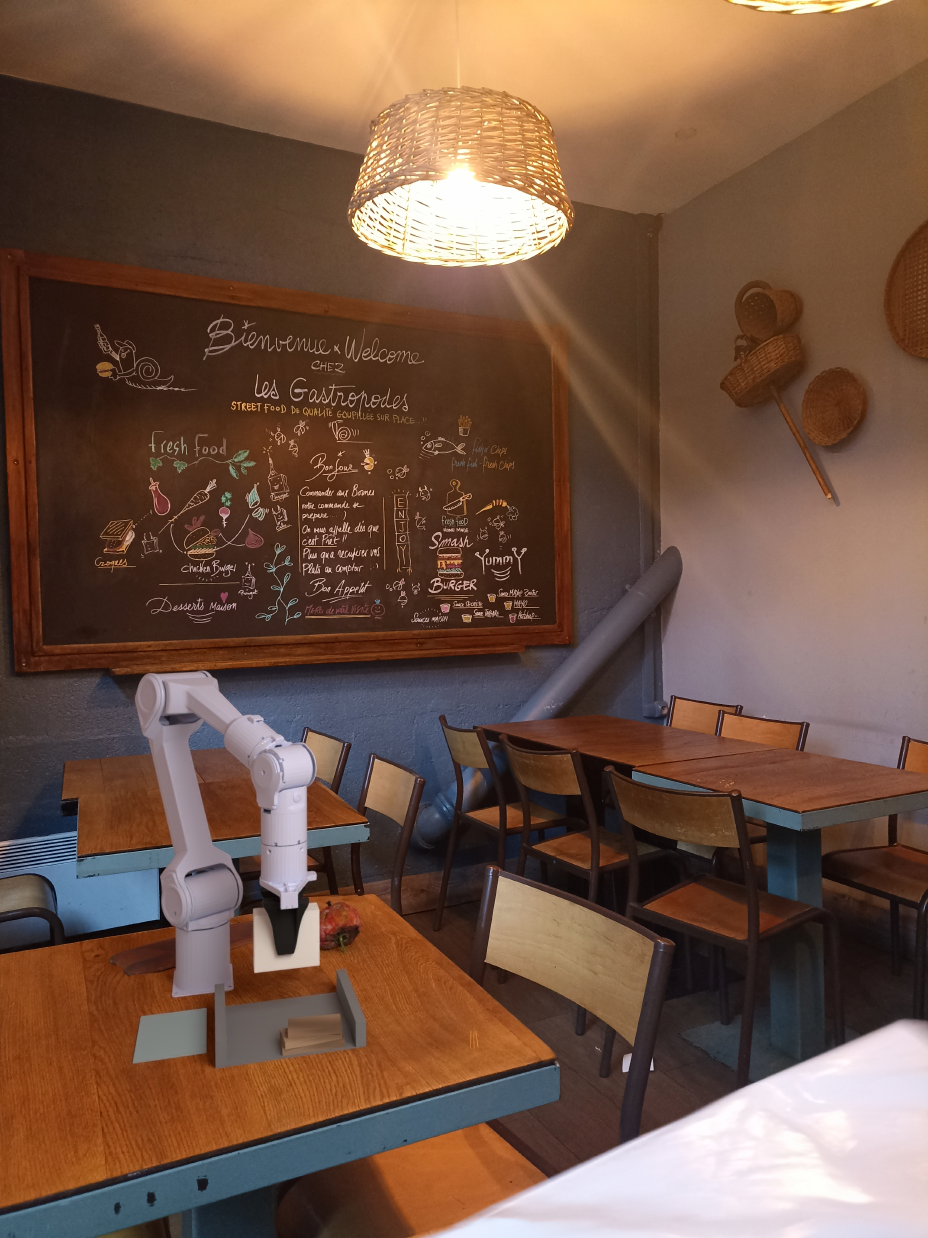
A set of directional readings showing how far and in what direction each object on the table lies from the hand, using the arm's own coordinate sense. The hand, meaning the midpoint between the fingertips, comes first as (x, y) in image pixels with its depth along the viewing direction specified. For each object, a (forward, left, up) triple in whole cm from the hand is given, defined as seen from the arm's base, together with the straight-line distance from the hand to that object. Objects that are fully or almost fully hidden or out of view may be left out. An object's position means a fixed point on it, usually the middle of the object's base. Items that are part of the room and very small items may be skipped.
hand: (284, 948), depth 108 cm
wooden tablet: (-30, -10, -10) cm, 33 cm away
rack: (+3, 0, -9) cm, 9 cm away
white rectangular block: (0, 0, -2) cm, 2 cm away
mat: (+1, -13, -9) cm, 16 cm away
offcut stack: (+8, +3, -9) cm, 12 cm away
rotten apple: (-22, +10, -9) cm, 26 cm away
